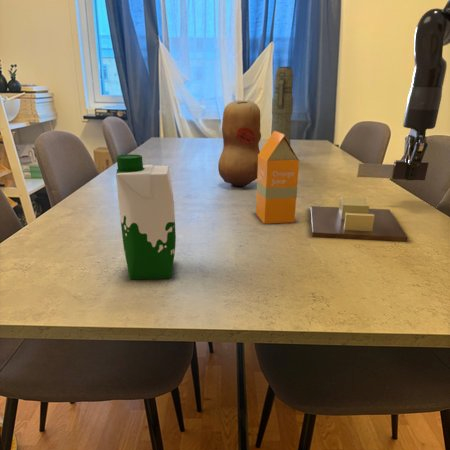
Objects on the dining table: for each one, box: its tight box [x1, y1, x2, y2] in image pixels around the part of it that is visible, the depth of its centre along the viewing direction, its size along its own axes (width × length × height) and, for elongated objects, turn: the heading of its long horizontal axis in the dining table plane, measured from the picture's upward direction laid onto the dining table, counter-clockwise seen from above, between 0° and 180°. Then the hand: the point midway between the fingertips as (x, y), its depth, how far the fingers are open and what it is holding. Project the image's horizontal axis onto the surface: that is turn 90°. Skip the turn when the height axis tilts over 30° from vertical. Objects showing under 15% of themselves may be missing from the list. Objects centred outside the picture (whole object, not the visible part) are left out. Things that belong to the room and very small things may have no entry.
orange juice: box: [255, 131, 300, 225], centre depth 103 cm, size 8×9×20 cm
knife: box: [356, 159, 429, 181], centre depth 113 cm, size 17×2×4 cm, turn 81°
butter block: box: [338, 196, 370, 219], centre depth 106 cm, size 6×8×4 cm
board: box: [310, 205, 409, 243], centre depth 103 cm, size 20×22×1 cm
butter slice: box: [344, 213, 375, 231], centre depth 95 cm, size 6×2×4 cm, turn 81°
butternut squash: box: [217, 100, 262, 187], centre depth 134 cm, size 14×13×25 cm
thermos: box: [271, 66, 294, 145], centre depth 184 cm, size 9×12×35 cm
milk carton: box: [115, 153, 177, 280], centre depth 73 cm, size 9×9×20 cm
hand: (408, 178), depth 114 cm, fingers closed on knife, 2 cm apart
